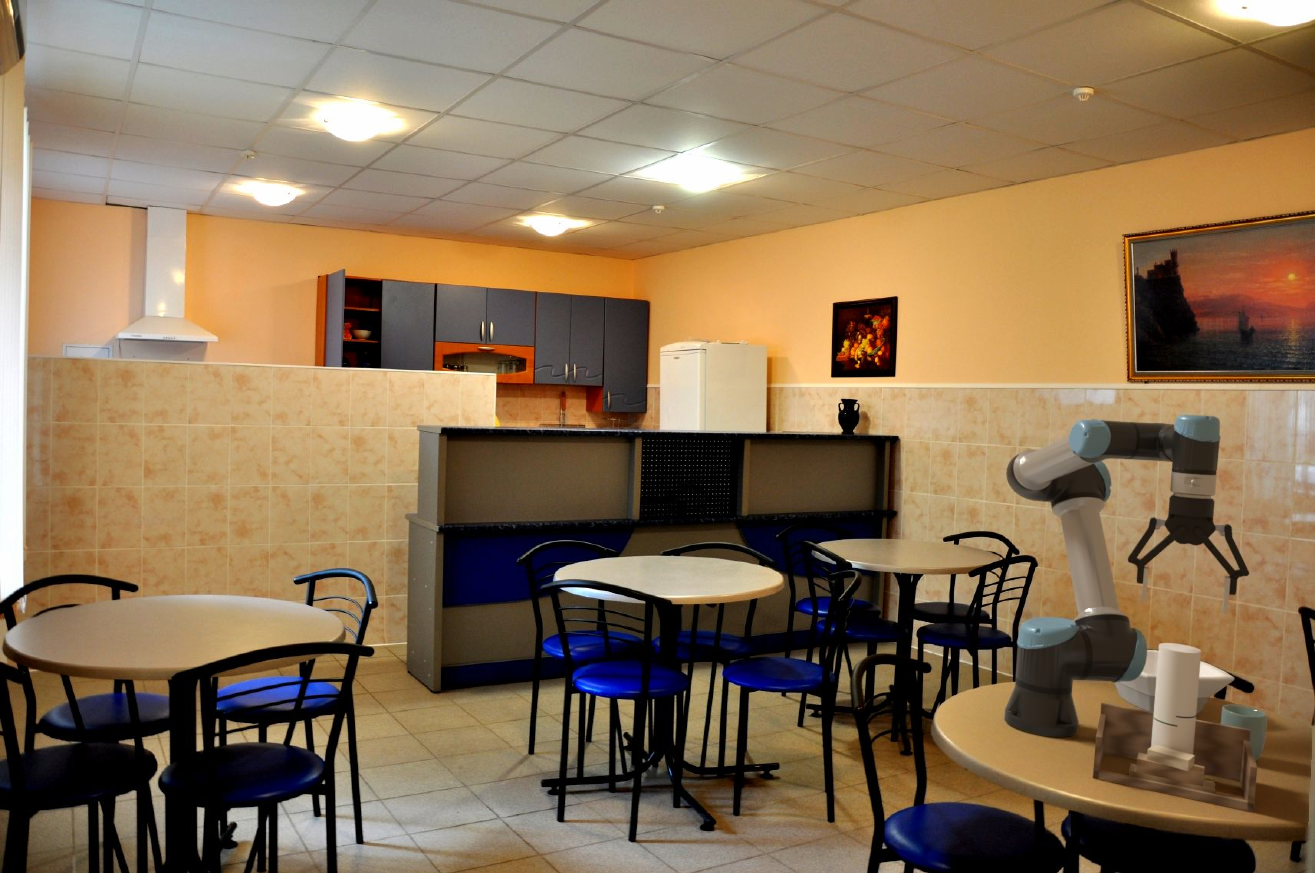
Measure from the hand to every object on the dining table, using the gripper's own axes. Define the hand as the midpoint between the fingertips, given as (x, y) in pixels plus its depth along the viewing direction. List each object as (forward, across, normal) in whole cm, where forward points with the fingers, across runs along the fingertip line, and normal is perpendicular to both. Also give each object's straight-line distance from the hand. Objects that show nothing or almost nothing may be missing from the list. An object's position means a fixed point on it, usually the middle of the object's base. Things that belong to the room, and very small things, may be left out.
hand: (1183, 606), depth 182 cm
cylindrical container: (+33, 0, 0) cm, 33 cm away
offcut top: (+29, 0, -6) cm, 29 cm away
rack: (+33, 0, -2) cm, 33 cm away
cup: (+33, +13, +20) cm, 41 cm away
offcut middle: (+31, 0, -6) cm, 32 cm away
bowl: (+33, -2, +51) cm, 61 cm away
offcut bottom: (+34, 0, -6) cm, 34 cm away
